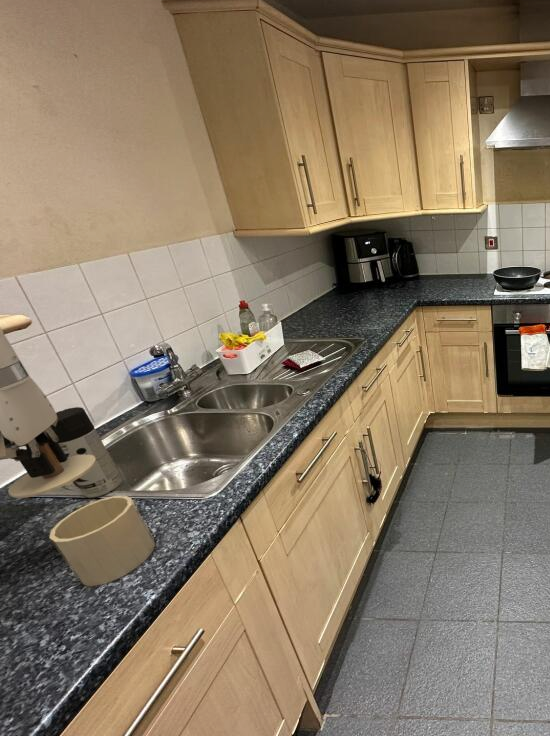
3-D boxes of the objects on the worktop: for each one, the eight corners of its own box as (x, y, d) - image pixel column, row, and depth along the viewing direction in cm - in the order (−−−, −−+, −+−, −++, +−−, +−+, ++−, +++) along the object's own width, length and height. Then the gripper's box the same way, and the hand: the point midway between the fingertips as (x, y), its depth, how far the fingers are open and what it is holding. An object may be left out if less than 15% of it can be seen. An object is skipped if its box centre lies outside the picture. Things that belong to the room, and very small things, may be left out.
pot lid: (-7, 509, 68) (-32, 474, 65) (39, 469, 78) (18, 437, 75) (76, 489, 71) (55, 455, 68) (110, 453, 81) (93, 422, 78)
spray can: (78, 495, 92) (32, 420, 84) (113, 476, 98) (73, 404, 90) (95, 501, 90) (49, 425, 82) (130, 481, 96) (90, 408, 88)
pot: (66, 595, 68) (33, 550, 64) (100, 547, 77) (73, 505, 73) (140, 573, 71) (113, 529, 67) (164, 530, 80) (142, 489, 76)
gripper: (0, 364, 72) (53, 449, 79) (-87, 406, 58) (-13, 505, 65) (53, 356, 74) (100, 439, 82) (-18, 395, 60) (46, 491, 67)
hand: (49, 468), depth 73 cm, fingers closed on pot lid, 2 cm apart
